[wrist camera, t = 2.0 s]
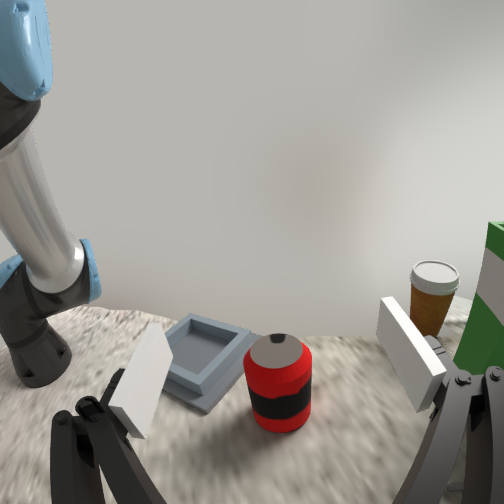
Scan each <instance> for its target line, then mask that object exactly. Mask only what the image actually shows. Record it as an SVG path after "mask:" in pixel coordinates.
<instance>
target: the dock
mask: <svg viewBox="0 0 504 504" xmlns="http://www.w3.org/2000/svg"><path fill="white" fill-rule="evenodd" d="M165 336H166V339H167V341H168V344H169V347H170V349H171V352H172V354H173V359H172V362H171V365H170V367H169V370H168V373H167V376H166V379H165V382H164V385H163V388H162V390H164V391H166V392H168V393H169V394H171V395H173V396H175V397H176V398H178V399H180V400H182V401H183V402H185V403H187V404H189V405H191V406H193V407H195V408H197V409H199V410H200V411H202V412H204V413H206V414H208V413H209V412H210V411H211V410H212V409H213V408H214V407H215V405H216V404H217V403H218V402H219V401H220V400H221V399H222V398H223V396H224V395H225V394H226V393H227V392H228V391H229V389H230V388H231V387H232V386H233V385H234V384H235V382H236V381H237V380H238V379H239V378H240V377H241V375H242V374H243V373H244V372H245V371H244V367H243V359H244V356H245V354H246V352H247V351H248V350H249V349H250V348H251V347H252V345H253V344H254V343H255V342H256V341H257V340H258V339H260V338H262V337H264V336H261V335H257V334H253V333H251V330H248V329H244V328H240V327H237V326H233V325H229V324H226V323H222V322H219V321H215V320H212V319H209V318H205V317H202V316H199V315H195V314H192V313H190V314H188V315H187V316H186V317H184V318H183V319H182V320H181V321H179V322H178V323H177V324H175V325H174V326H173V327H172V328H170V329H169V330H168V331H167V332H165Z"/></svg>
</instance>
